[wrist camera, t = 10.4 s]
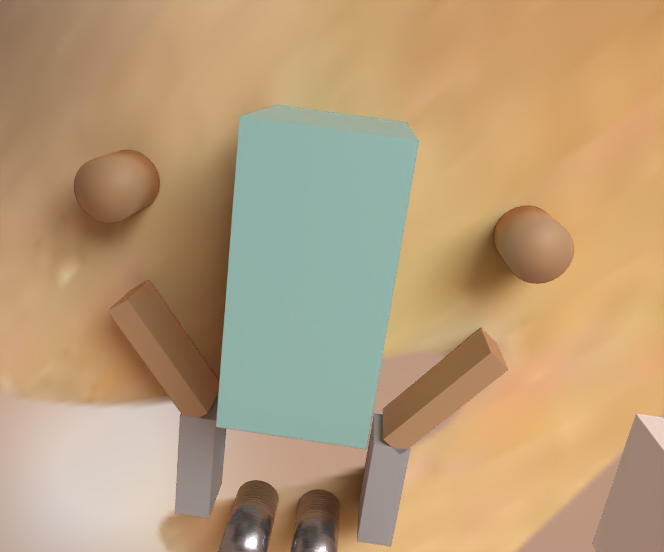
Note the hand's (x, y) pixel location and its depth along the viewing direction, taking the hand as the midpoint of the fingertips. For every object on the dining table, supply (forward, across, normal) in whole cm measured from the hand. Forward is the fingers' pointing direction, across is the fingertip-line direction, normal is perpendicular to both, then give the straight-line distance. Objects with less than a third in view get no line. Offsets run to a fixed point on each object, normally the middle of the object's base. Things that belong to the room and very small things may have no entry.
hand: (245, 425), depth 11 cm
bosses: (+15, 0, -14) cm, 20 cm away
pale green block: (+15, 0, -1) cm, 15 cm away
